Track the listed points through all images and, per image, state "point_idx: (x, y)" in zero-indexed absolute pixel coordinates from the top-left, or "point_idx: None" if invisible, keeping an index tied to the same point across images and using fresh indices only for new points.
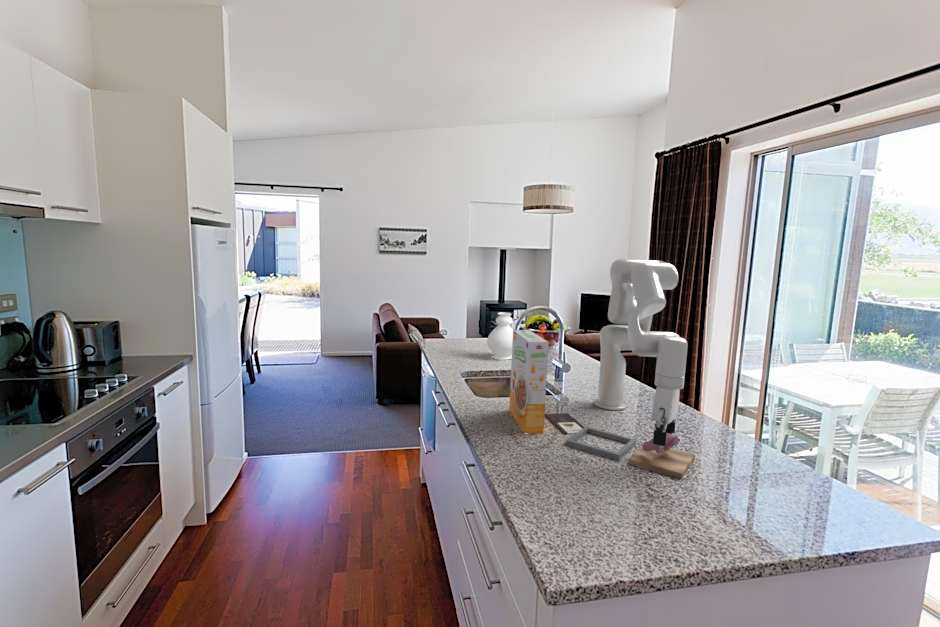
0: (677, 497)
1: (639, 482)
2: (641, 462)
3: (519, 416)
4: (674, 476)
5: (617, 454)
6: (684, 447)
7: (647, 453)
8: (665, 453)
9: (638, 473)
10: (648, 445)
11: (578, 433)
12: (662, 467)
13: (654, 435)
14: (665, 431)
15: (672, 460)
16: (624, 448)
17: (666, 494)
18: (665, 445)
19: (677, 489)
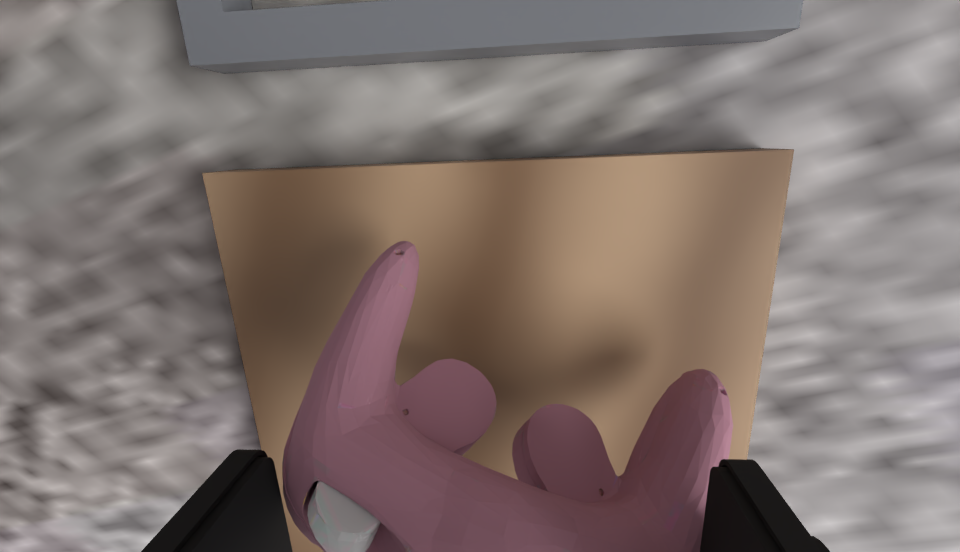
0: (67, 542)
1: (30, 341)
2: (228, 288)
3: None
4: None
5: (193, 40)
6: (953, 437)
7: (453, 272)
8: (576, 395)
9: (143, 294)
10: (324, 347)
11: None
12: (270, 440)
13: (159, 548)
14: (724, 526)
15: None
16: (402, 31)
17: (44, 496)
18: (524, 465)
19: (153, 527)
